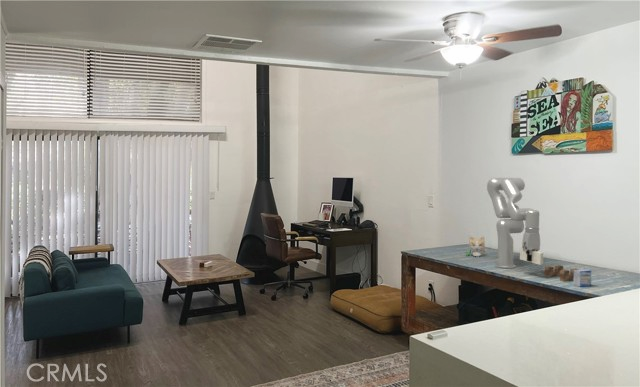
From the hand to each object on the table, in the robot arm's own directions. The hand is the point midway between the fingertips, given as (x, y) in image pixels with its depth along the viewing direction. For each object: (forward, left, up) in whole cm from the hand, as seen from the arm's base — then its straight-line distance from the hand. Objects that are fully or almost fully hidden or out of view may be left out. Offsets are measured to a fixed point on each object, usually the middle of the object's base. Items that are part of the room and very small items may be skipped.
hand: (531, 260), depth 283 cm
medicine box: (+31, +6, -9) cm, 32 cm away
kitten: (-67, +15, -9) cm, 70 cm away
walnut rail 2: (+18, +11, -9) cm, 23 cm away
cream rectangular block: (0, 0, -1) cm, 1 cm away
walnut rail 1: (+7, +11, -9) cm, 16 cm away
